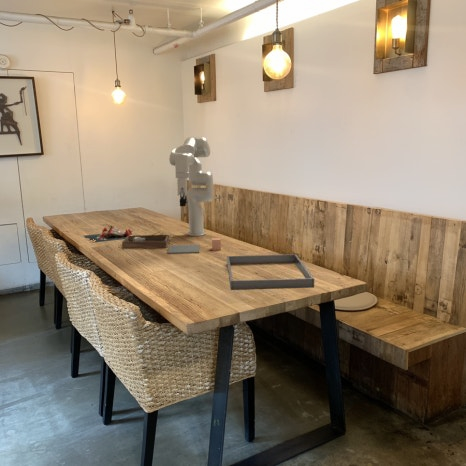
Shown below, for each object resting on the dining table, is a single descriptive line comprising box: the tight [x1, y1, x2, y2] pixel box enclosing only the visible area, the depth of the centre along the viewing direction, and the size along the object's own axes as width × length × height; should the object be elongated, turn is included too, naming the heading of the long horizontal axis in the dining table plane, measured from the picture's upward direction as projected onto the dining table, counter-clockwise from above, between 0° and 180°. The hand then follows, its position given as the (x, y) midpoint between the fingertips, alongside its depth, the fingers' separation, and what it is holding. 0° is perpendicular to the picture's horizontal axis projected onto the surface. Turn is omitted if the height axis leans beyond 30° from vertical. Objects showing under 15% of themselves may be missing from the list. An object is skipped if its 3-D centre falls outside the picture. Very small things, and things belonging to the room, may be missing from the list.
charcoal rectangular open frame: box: [226, 253, 315, 291], centre depth 220 cm, size 43×36×4 cm
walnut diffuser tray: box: [121, 234, 170, 250], centre depth 286 cm, size 19×26×4 cm
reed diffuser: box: [133, 231, 163, 242], centre depth 289 cm, size 10×7×20 cm
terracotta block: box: [211, 237, 222, 251], centre depth 272 cm, size 5×5×6 cm
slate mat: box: [166, 244, 201, 255], centre depth 272 cm, size 18×18×1 cm
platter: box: [83, 225, 138, 244], centre depth 312 cm, size 35×27×9 cm
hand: (183, 205), depth 269 cm, fingers open, 9 cm apart
